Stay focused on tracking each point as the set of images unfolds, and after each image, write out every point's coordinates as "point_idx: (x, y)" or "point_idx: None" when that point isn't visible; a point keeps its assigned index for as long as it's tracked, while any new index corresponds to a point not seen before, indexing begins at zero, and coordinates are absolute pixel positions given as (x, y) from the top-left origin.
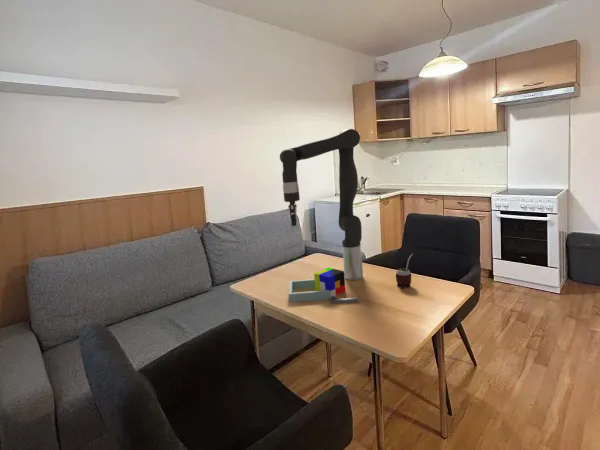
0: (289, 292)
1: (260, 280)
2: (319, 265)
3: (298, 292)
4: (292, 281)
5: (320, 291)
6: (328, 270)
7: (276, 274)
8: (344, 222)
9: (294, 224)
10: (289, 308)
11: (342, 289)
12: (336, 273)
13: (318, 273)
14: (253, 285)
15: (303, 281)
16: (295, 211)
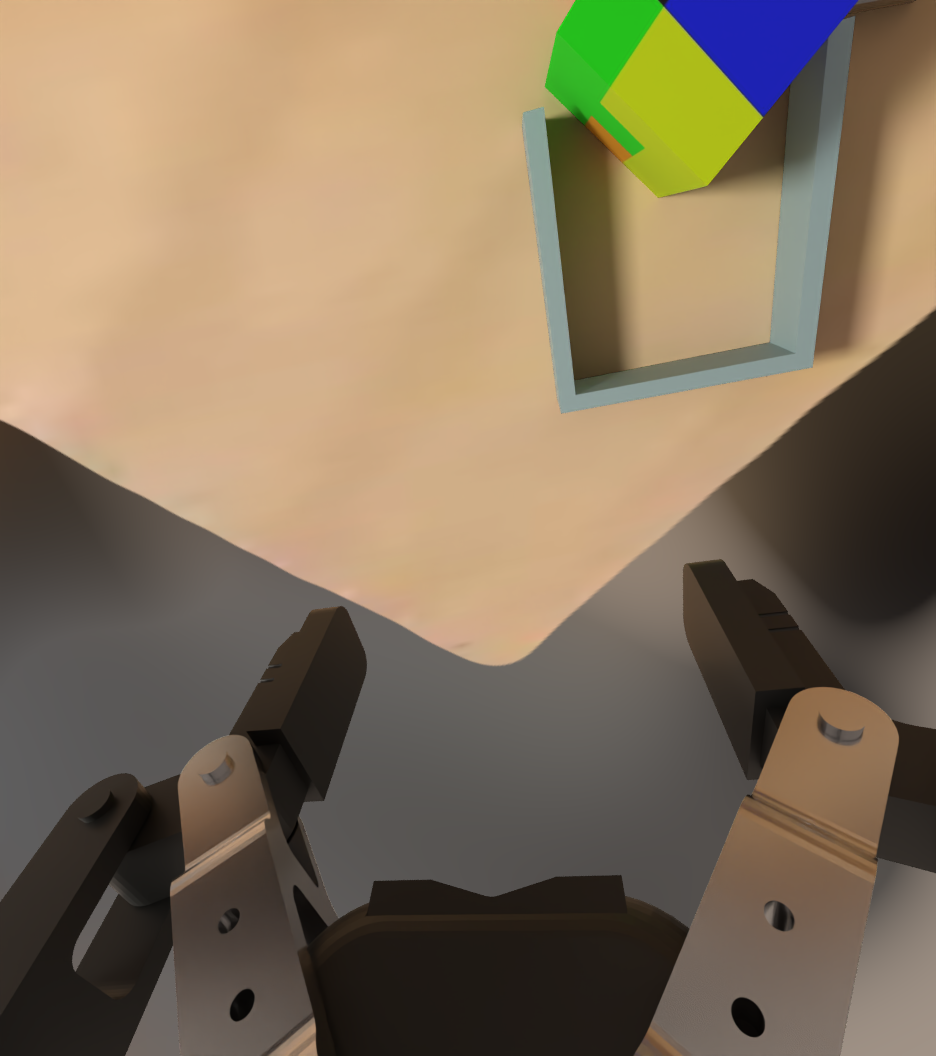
0: (780, 369)
1: (421, 585)
2: (97, 282)
3: (801, 303)
4: (571, 394)
5: (841, 106)
6: (656, 15)
7: (324, 529)
8: None
9: (759, 600)
10: (881, 334)
11: None
12: None
13: (727, 131)
14: (492, 599)
15: (566, 315)
16: (859, 932)
